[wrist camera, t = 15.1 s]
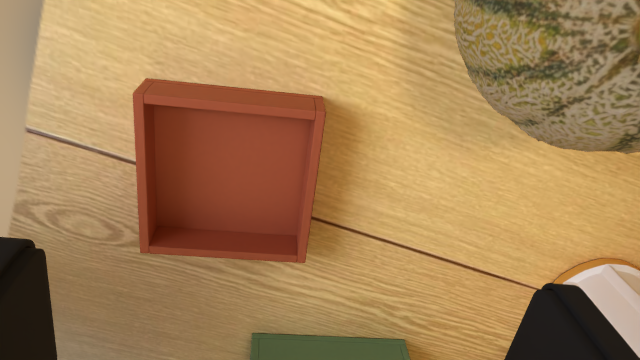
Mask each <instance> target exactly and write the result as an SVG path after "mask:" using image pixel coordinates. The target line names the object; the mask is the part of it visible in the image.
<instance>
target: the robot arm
mask: <svg viewBox="0 0 640 360" xmlns="http://www.w3.org/2000/svg"><path fill="white" fill-rule="evenodd" d="M0 360H57V352H56V343H55V334H54V326H53V317H52V308H51V300H50V291H49V282H48V273H47V265H46V256H45V252H44V250H43V249H37V248H36V247H35V244H34V242H33V241H32V240H30V239H18V238H6V237H0ZM504 360H640V358H639V357H638V356H637V354H636V353H635V352H634V351H633V350H632V348H631V347H630V346H629V345H628V344H627V342H626V341H625V340H624V339H623V338H622V336H621V335H620V334H619V333H618V332H617V330H616V329H615V328H614V327H613V326H612V324H611V323H610V322H609V321H608V320H607V318H606V317H605V316H604V315H603V314H602V312H601V311H600V310H599V309H598V308H597V306H596V305H595V304H594V303H593V302H592V300H591V299H590V298H589V297H588V296H587V294H586V293H585V292H584V291H583V290H582V289H581V288H580V287H579V286H576V285H568V284H556V283H548V284H545V285H544V286H543V287H542V289H541V290H537V291H536V292H535V293H534V295H533V297H532V299H531V301H530V304H529V306H528V308H527V310H526V313H525V315H524V317H523V319H522V321H521V324H520V326H519V328H518V330H517V333H516V335H515V337H514V339H513V341H512V344H511V346H510V348H509V350H508V353H507V355H506V357H505V359H504Z"/></svg>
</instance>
